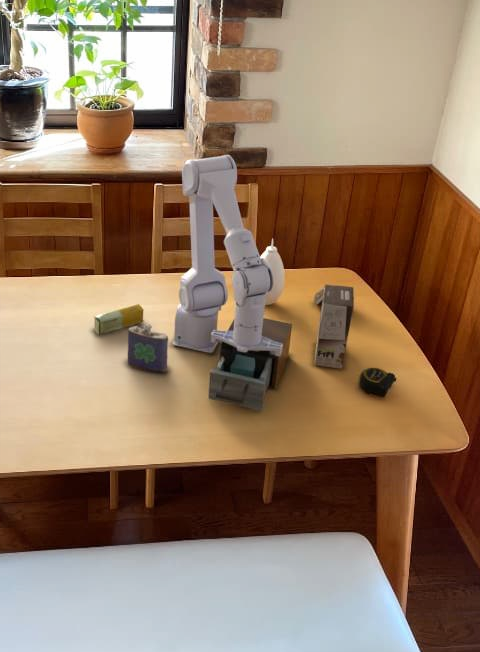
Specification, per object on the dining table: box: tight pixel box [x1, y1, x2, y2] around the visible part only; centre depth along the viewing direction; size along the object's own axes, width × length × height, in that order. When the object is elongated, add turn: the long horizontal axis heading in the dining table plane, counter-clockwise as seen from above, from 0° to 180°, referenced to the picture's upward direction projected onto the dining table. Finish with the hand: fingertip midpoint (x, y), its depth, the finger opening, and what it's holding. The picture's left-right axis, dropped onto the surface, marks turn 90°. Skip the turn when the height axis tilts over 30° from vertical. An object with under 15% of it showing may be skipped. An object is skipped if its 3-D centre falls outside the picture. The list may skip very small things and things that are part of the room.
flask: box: [127, 324, 169, 374], centre depth 173 cm, size 9×3×11 cm, turn 68°
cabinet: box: [218, 317, 293, 390], centre depth 175 cm, size 14×13×9 cm
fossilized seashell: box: [313, 285, 325, 307], centre depth 198 cm, size 8×7×10 cm
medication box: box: [93, 303, 145, 336], centre depth 188 cm, size 12×3×4 cm, turn 120°
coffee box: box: [314, 284, 355, 370], centre depth 177 cm, size 9×6×16 cm
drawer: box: [207, 350, 275, 412], centre depth 165 cm, size 18×11×7 cm, turn 161°
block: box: [230, 354, 255, 378], centre depth 166 cm, size 5×5×5 cm
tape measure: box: [358, 367, 398, 398], centre depth 170 cm, size 7×7×4 cm
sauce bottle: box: [260, 237, 286, 306], centre depth 195 cm, size 8×8×18 cm
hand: (243, 375), depth 167 cm, fingers closed on block, 5 cm apart
